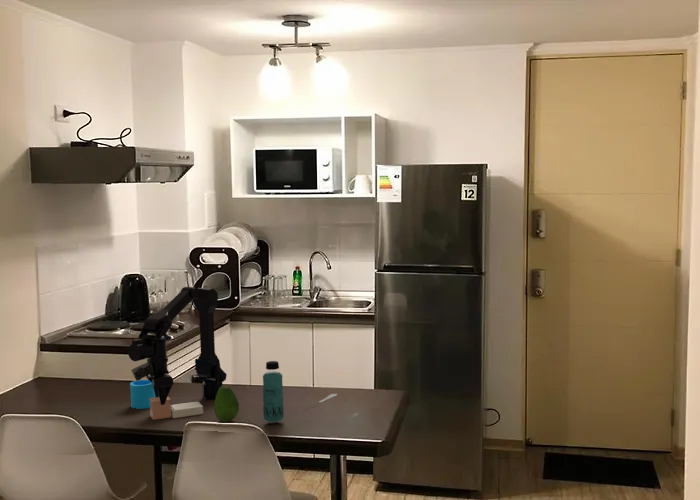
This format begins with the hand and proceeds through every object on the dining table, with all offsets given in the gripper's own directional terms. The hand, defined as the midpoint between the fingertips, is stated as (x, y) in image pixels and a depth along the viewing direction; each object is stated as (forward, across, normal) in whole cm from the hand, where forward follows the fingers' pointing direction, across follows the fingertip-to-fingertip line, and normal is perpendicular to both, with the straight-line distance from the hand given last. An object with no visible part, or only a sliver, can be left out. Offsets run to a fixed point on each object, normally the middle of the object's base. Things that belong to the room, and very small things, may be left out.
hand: (160, 401), depth 265 cm
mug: (+6, -18, -2) cm, 19 cm away
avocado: (+6, +16, +18) cm, 25 cm away
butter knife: (+6, +10, +52) cm, 54 cm away
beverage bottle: (+5, +25, +31) cm, 40 cm away
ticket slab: (+5, 0, +8) cm, 10 cm away
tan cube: (+5, 0, 0) cm, 5 cm away
